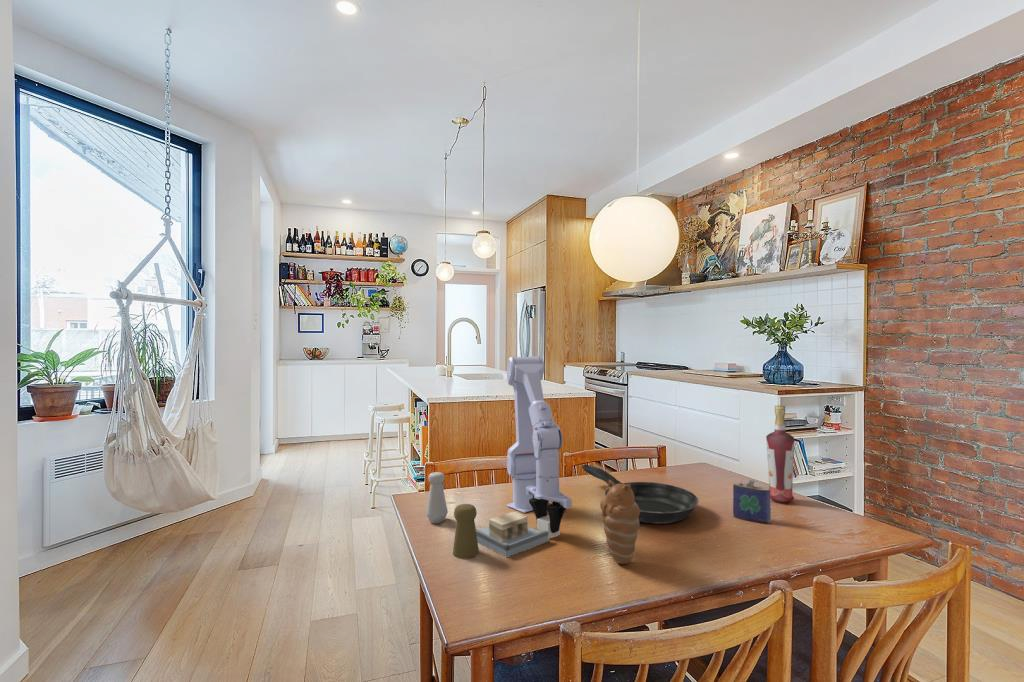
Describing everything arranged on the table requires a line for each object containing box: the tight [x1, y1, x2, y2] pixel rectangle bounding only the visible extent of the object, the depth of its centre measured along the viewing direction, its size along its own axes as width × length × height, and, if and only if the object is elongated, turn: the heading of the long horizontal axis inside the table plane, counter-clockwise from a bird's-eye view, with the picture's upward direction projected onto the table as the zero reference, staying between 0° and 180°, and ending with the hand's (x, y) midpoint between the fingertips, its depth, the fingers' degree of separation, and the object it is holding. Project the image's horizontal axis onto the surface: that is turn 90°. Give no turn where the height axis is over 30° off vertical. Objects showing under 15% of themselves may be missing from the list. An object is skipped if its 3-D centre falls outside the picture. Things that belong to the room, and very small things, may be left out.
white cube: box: [536, 514, 561, 540], centre depth 125 cm, size 4×4×4 cm
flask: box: [732, 479, 772, 525], centre depth 132 cm, size 9×3×11 cm, turn 50°
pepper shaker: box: [452, 503, 480, 559], centre depth 115 cm, size 6×6×11 cm
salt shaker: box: [425, 471, 449, 524], centre depth 135 cm, size 6×6×13 cm
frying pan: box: [581, 464, 699, 525], centre depth 147 cm, size 44×25×7 cm, turn 26°
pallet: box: [488, 510, 529, 542], centre depth 122 cm, size 8×5×4 cm, turn 130°
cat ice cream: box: [599, 480, 641, 565], centre depth 108 cm, size 9×8×18 cm
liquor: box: [765, 405, 795, 504], centre depth 147 cm, size 7×7×28 cm
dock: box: [476, 526, 549, 558], centre depth 122 cm, size 13×14×2 cm
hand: (548, 528), depth 125 cm, fingers open, 4 cm apart
